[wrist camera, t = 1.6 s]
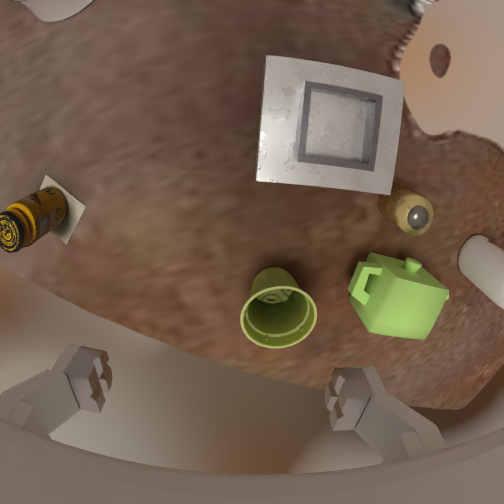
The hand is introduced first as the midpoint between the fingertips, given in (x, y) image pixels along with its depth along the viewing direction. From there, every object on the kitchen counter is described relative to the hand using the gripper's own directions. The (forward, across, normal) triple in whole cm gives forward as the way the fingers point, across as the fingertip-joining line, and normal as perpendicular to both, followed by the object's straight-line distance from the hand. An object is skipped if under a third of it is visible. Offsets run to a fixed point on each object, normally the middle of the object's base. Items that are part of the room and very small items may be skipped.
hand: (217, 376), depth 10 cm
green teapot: (+33, -25, +11) cm, 43 cm away
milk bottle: (+33, -41, +6) cm, 53 cm away
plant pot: (+33, -6, +13) cm, 36 cm away
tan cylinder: (+32, -22, -1) cm, 39 cm away
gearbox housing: (+32, -10, -10) cm, 35 cm away
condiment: (+32, +27, +4) cm, 42 cm away
